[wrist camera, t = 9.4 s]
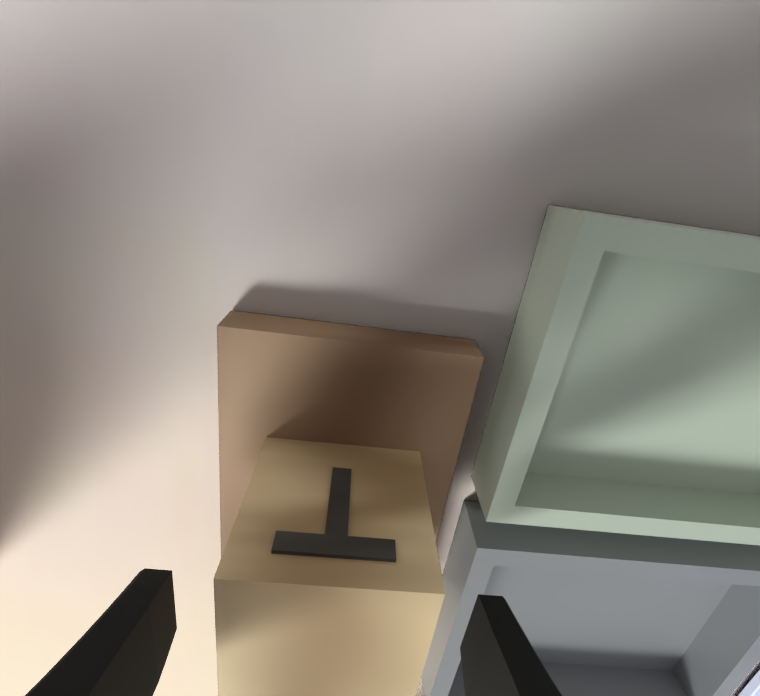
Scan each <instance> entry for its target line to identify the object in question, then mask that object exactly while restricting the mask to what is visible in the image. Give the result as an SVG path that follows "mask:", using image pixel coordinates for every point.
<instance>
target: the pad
mask: <svg viewBox="0 0 760 696" xmlns="http://www.w3.org/2000/svg"><path fill="white" fill-rule="evenodd" d="M217 349H218V406H219V463H220V520H221V558H222V555H223V552H224V549H225V547H226V544H227V541H228V539H229V536H230V533H231V531H232V528H233V525H234V523H235V520H236V517H237V514H238V512H239V509H240V506H241V504H242V501H243V498H244V496H245V493H246V490H247V487H248V485H249V482H250V479H251V477H252V474H253V471H254V469H255V466H256V463H257V460H258V458H259V455H260V452H261V450H262V447H263V444H264V442H265V439H266V437H269V438H280V439H291V440H302V441H313V442H324V443H334V444H345V445H356V446H367V447H378V448H388V449H399V450H410V451H420V454H421V460H422V466H423V472H424V477H425V483H426V489H427V494H428V500H429V506H430V512H431V517H432V523H433V529H434V534H435V540H436V539H437V535H438V531H439V527H440V523H441V520H442V516H443V512H444V508H445V504H446V501H447V497H448V493H449V489H450V486H451V482H452V478H453V474H454V470H455V467H456V463H457V459H458V455H459V451H460V448H461V444H462V440H463V436H464V433H465V429H466V425H467V421H468V417H469V414H470V410H471V406H472V402H473V398H474V395H475V391H476V387H477V383H478V380H479V376H480V372H481V368H482V364H483V361H484V356H483V354H482V353H481V351H480V349H479V347H478V346H477V344H476V342H475V341H474V340H470V339H462V338H454V337H445V336H437V335H429V334H421V333H413V332H404V331H396V330H388V329H380V328H371V327H363V326H355V325H347V324H338V323H330V322H322V321H314V320H305V319H297V318H289V317H281V316H272V315H264V314H256V313H248V312H239V311H230V312H229V313H228V314H227V316H226V317H225V318H224V319H223V320H222V321H221V322H220V323H219V324H218V325H217Z"/></svg>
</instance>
